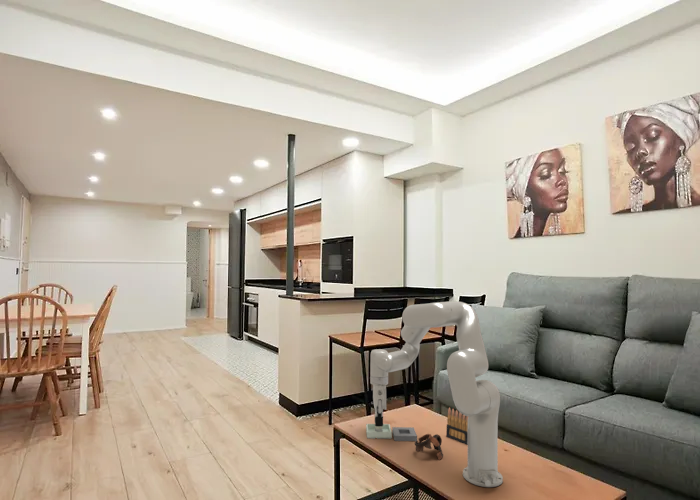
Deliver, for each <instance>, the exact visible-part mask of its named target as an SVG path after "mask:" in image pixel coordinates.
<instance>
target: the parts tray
mask: <svg viewBox="0 0 700 500" xmlns="http://www.w3.org/2000/svg"><path fill="white" fill-rule="evenodd" d="M365 426H366V427H365V431H366V432H365V433H366V439H375V438H377V439H381V440H383V439H385V440H387V439H389V440H392V439H393V437H392V436H393V433H392V428H391V424H390V423H383V431H382V432H376V431H375V423H366V425H365Z"/></svg>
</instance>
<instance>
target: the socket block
mask: <svg viewBox="0 0 700 500" xmlns="http://www.w3.org/2000/svg"><path fill="white" fill-rule="evenodd" d="M391 432H392V436H393V439H394V440H393V441H394V442H416V441H418V435H417V432H416V430H415V428H414V427H412V426H411V427H405V426H401V427H399V426H397V427H396V426H395V427H394V426H392V428H391Z"/></svg>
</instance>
